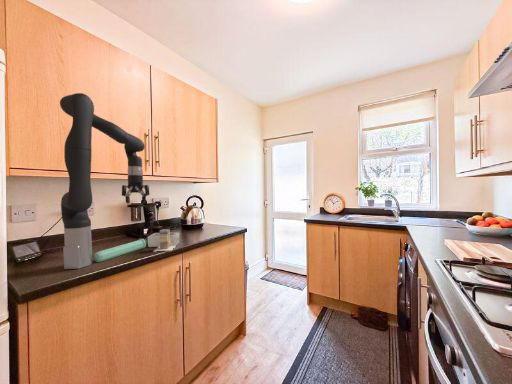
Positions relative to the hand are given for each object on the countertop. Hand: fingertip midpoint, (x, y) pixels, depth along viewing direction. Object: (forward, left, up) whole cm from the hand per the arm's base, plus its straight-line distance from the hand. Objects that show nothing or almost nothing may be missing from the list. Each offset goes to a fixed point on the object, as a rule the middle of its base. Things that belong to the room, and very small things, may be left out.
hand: (135, 203), depth 124 cm
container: (-12, +2, -26) cm, 29 cm away
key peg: (-5, -17, -25) cm, 31 cm away
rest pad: (-6, -17, -25) cm, 31 cm away
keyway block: (+5, -13, -25) cm, 29 cm away
